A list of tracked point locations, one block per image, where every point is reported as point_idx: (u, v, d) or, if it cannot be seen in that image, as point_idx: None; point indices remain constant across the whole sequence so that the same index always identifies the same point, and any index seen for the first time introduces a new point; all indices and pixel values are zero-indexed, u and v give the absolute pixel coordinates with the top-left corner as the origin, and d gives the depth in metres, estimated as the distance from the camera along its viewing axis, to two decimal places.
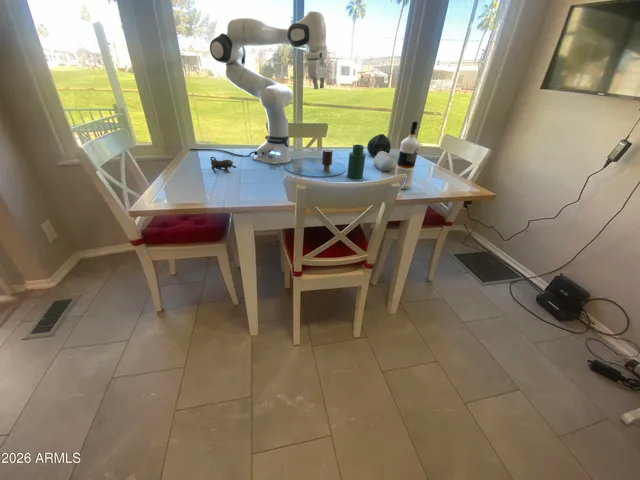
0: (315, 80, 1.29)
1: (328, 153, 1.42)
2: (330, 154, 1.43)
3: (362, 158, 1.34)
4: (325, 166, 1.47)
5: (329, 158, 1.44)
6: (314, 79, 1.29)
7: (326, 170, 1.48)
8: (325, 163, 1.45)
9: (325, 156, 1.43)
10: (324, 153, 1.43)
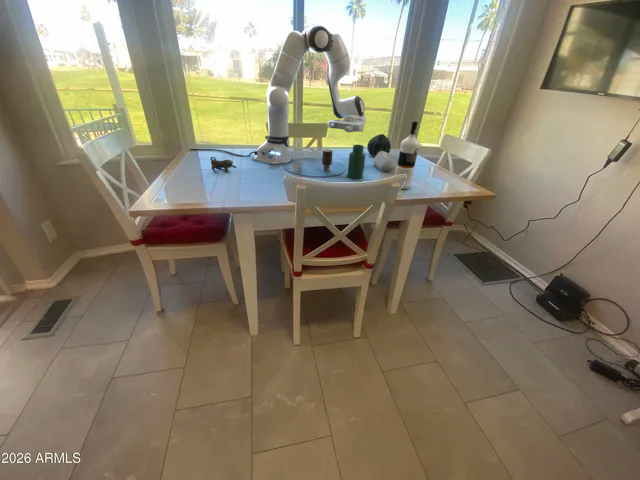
0: (352, 128, 1.47)
1: (328, 153, 1.42)
2: (330, 154, 1.43)
3: (362, 158, 1.34)
4: (325, 166, 1.47)
5: (329, 158, 1.44)
6: (353, 127, 1.47)
7: (326, 170, 1.48)
8: (325, 163, 1.45)
9: (325, 156, 1.43)
10: (324, 153, 1.43)
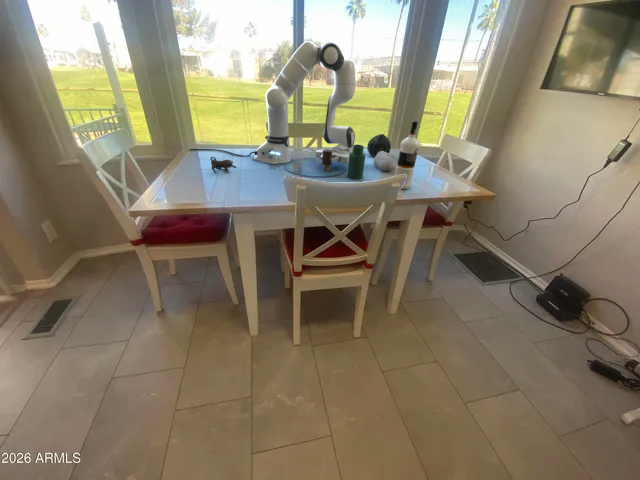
0: (337, 160, 1.46)
1: (328, 153, 1.42)
2: (330, 154, 1.43)
3: (362, 158, 1.34)
4: (325, 166, 1.47)
5: (329, 158, 1.44)
6: (338, 159, 1.46)
7: (326, 170, 1.48)
8: (325, 163, 1.45)
9: (325, 156, 1.43)
10: (324, 153, 1.43)
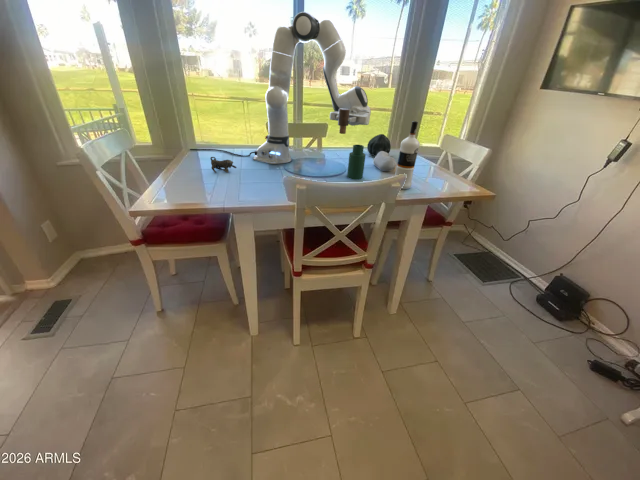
0: (355, 120, 1.32)
1: (345, 112, 1.28)
2: (347, 112, 1.29)
3: (362, 158, 1.34)
4: (341, 127, 1.33)
5: (346, 117, 1.30)
6: (355, 119, 1.32)
7: (342, 132, 1.34)
8: (341, 123, 1.31)
9: (342, 115, 1.29)
10: (340, 112, 1.29)
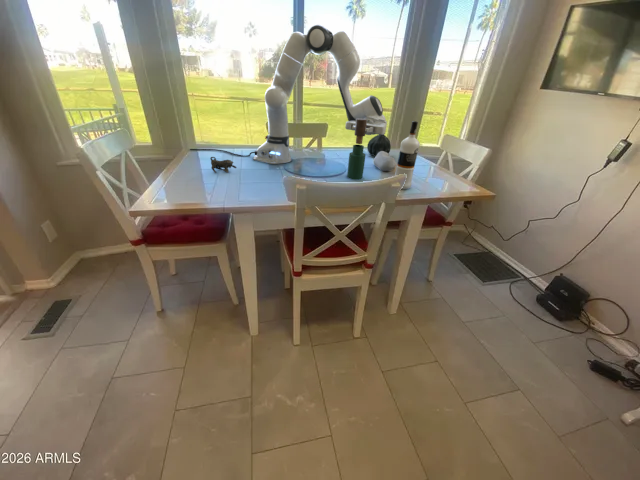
0: (372, 130, 1.30)
1: (363, 122, 1.26)
2: (364, 123, 1.27)
3: (362, 158, 1.34)
4: (358, 137, 1.31)
5: (363, 128, 1.28)
6: (372, 129, 1.31)
7: (359, 142, 1.32)
8: (358, 134, 1.29)
9: (359, 125, 1.27)
10: (358, 122, 1.27)
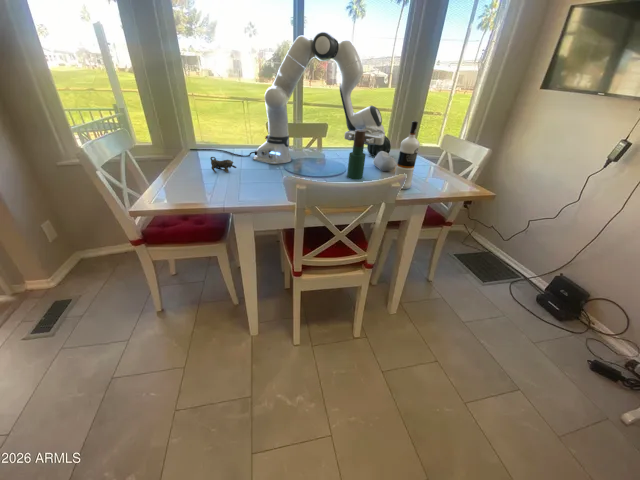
0: (373, 141, 1.33)
1: (361, 134, 1.29)
2: (363, 134, 1.29)
3: (362, 158, 1.34)
4: None
5: (362, 139, 1.30)
6: (374, 140, 1.33)
7: None
8: (357, 145, 1.32)
9: (358, 137, 1.30)
10: (357, 133, 1.29)
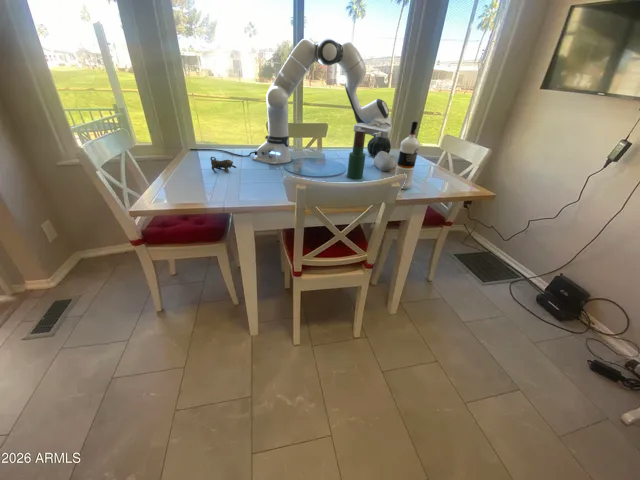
0: (380, 135, 1.42)
1: (361, 134, 1.29)
2: (363, 134, 1.29)
3: (362, 158, 1.34)
4: None
5: (362, 139, 1.30)
6: (381, 134, 1.42)
7: None
8: (357, 145, 1.32)
9: (358, 137, 1.30)
10: (357, 133, 1.29)
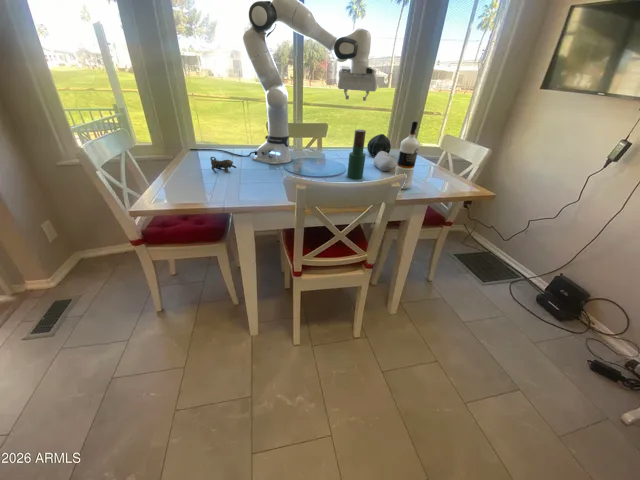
0: (368, 93, 1.41)
1: (361, 134, 1.29)
2: (363, 134, 1.29)
3: (362, 158, 1.34)
4: None
5: (362, 139, 1.30)
6: (368, 92, 1.41)
7: None
8: (357, 145, 1.32)
9: (358, 137, 1.30)
10: (357, 133, 1.29)
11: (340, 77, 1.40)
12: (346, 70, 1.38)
